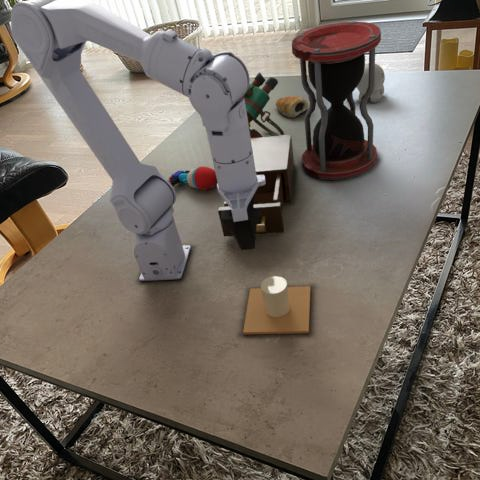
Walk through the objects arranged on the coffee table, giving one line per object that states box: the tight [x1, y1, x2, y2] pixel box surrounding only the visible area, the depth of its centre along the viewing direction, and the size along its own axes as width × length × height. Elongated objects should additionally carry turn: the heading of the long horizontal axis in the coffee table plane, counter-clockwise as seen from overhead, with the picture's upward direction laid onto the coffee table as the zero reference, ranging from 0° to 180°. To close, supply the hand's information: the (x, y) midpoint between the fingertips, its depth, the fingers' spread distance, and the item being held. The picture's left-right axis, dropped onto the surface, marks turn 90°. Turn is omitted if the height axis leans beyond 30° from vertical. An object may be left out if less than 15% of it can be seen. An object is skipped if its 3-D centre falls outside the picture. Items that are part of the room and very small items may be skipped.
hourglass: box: [291, 20, 382, 181], centre depth 98 cm, size 16×16×25 cm
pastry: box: [275, 95, 309, 119], centre depth 128 cm, size 9×7×4 cm
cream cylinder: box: [260, 275, 290, 317], centre depth 75 cm, size 4×4×5 cm
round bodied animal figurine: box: [355, 62, 386, 103], centre depth 124 cm, size 7×12×8 cm, turn 62°
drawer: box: [217, 173, 285, 237], centre depth 92 cm, size 17×11×6 cm, turn 173°
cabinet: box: [251, 134, 295, 205], centre depth 102 cm, size 15×13×8 cm
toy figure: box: [167, 165, 218, 191], centre depth 108 cm, size 8×5×15 cm
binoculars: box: [240, 72, 286, 138], centre depth 115 cm, size 14×14×15 cm
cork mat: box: [242, 285, 312, 335], centre depth 77 cm, size 10×10×1 cm
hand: (247, 233), depth 77 cm, fingers open, 7 cm apart
